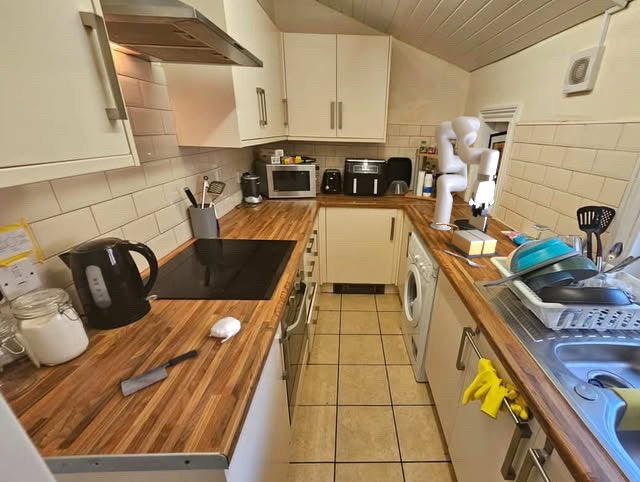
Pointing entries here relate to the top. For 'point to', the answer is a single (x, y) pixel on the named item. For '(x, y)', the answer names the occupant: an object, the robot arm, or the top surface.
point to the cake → (473, 244)
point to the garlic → (225, 328)
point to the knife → (479, 218)
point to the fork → (466, 259)
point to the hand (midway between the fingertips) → (478, 216)
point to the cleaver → (151, 375)
